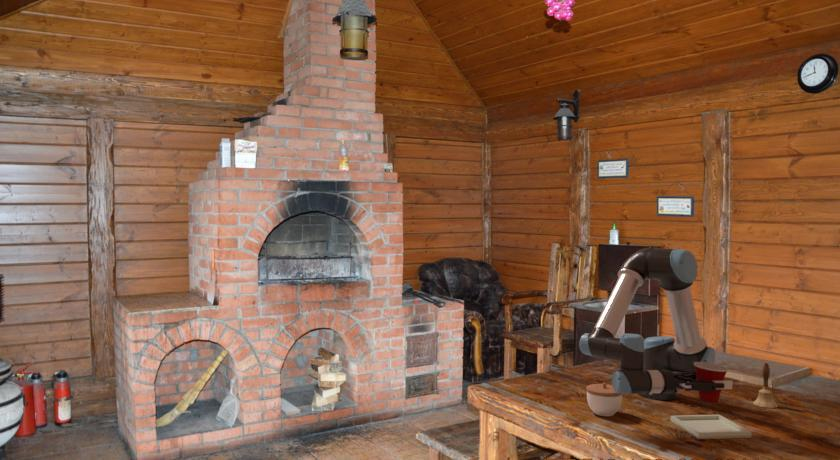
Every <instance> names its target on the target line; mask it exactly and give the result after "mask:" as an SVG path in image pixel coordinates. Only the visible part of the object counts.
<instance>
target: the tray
mask: <svg viewBox="0 0 840 460" xmlns="http://www.w3.org/2000/svg"><path fill="white" fill-rule="evenodd" d="M670 422H671V423H673V424H674V425H675V426H678V427H680V429H682V430H684V431H685V432H687V433H689V434H690V435H691V436H693V437H695V438H697V439H698V440H713V439H714V440H716V439H719V440H720V439H752V431H750V430H748V429H747V428H745V427H743V426H741V425H739V424H738V423H736V422H733V421H732V420H731V419H728V418H726V417H725V416H723V415H721V414H689V415H688V414H687V415H686V414H685V415H684V414H683V415H670Z"/></svg>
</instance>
